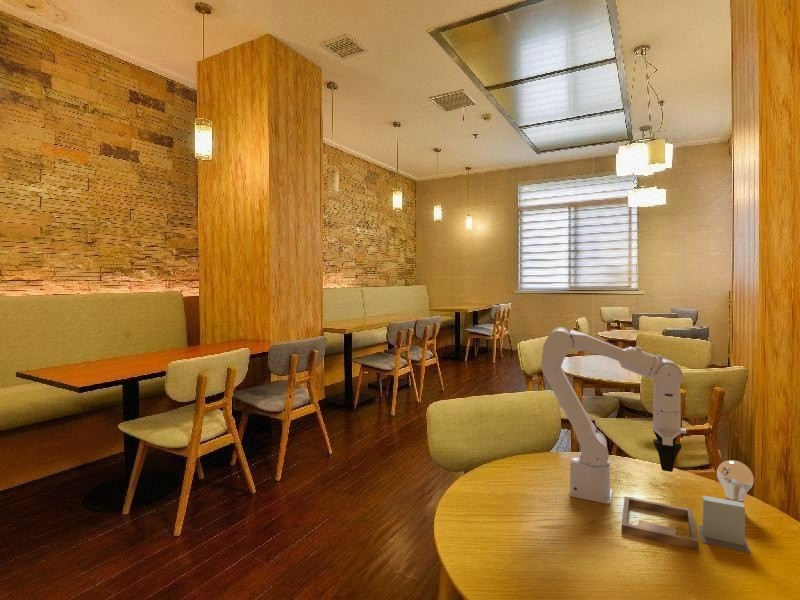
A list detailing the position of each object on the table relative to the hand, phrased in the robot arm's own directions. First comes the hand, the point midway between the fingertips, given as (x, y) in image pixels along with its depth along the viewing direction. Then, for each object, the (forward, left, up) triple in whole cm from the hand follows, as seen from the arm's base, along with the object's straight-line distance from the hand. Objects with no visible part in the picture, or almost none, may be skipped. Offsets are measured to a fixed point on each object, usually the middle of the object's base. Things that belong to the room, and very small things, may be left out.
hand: (666, 464), depth 108 cm
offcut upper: (-2, -14, -10) cm, 18 cm away
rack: (-2, -11, -10) cm, 15 cm away
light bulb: (+14, +4, -10) cm, 18 cm away
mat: (+10, -11, -10) cm, 18 cm away
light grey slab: (+10, -11, -10) cm, 18 cm away
